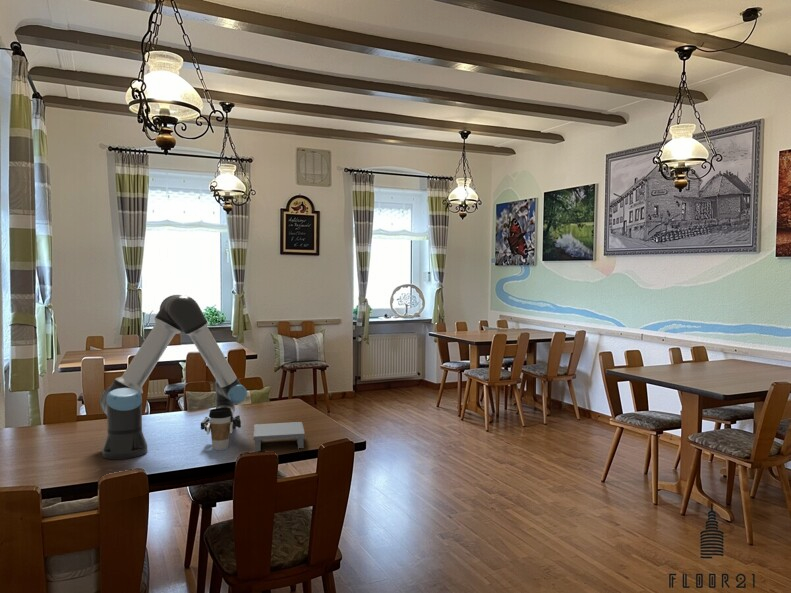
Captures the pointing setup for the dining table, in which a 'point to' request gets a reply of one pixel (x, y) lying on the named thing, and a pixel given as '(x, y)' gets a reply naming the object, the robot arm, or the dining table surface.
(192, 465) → the dining table surface
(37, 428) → the dining table surface
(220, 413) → the coffee cup
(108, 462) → the dining table surface
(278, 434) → the bridge shelf
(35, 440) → the dining table surface
